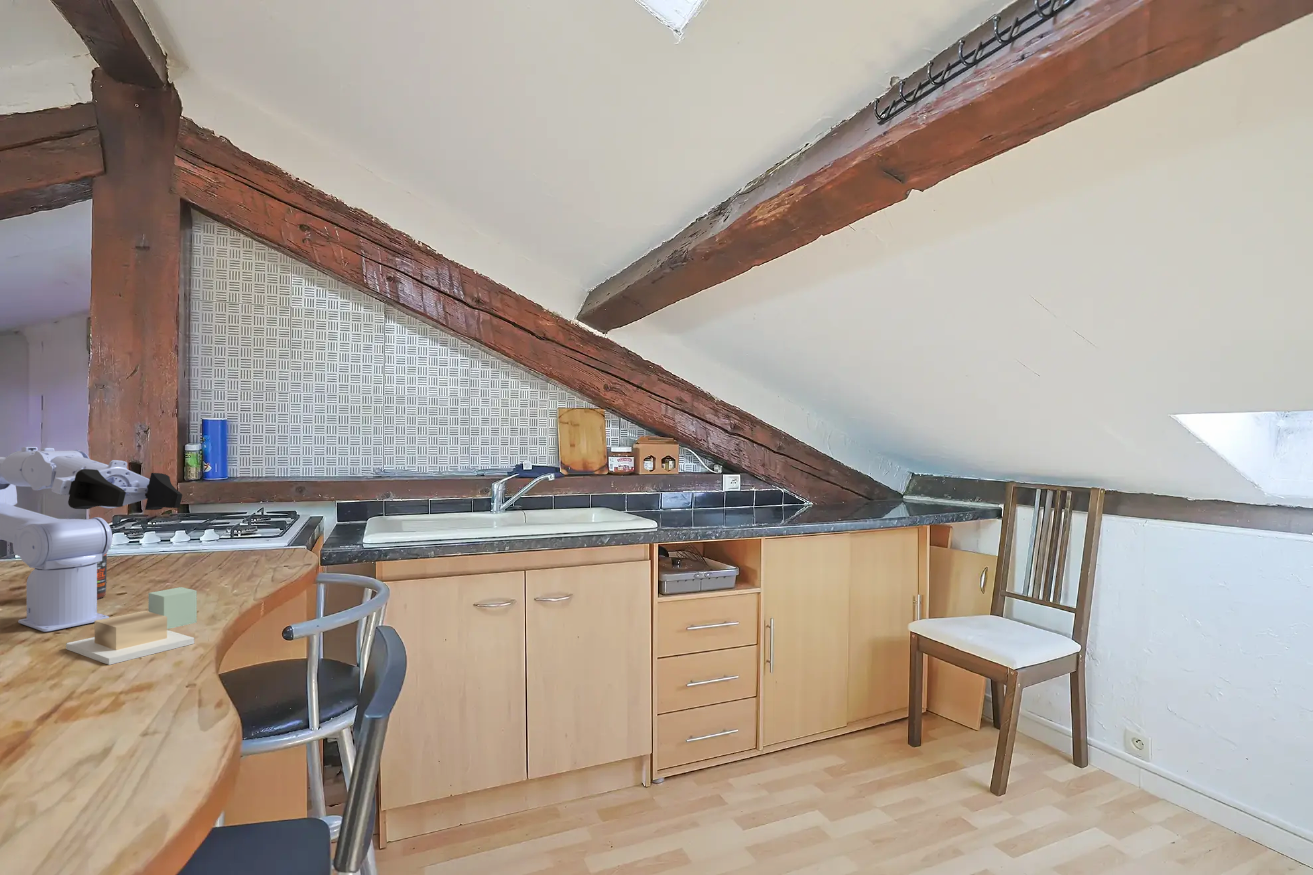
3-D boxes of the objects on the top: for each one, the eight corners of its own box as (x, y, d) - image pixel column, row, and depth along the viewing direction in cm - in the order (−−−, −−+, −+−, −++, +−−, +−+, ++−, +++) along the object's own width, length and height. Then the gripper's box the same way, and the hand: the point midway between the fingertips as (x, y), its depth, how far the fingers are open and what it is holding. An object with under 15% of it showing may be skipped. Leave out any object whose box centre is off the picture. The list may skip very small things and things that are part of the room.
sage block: (148, 625, 103) (148, 592, 103) (181, 618, 107) (180, 587, 107) (164, 630, 101) (164, 596, 101) (196, 622, 105) (196, 590, 105)
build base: (66, 649, 92) (66, 621, 92) (150, 630, 101) (150, 604, 101) (109, 665, 86) (109, 635, 86) (194, 643, 95) (194, 616, 95)
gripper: (41, 450, 95) (100, 468, 90) (150, 458, 108) (207, 475, 103) (29, 499, 94) (87, 521, 89) (140, 502, 108) (196, 521, 103)
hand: (151, 500), depth 96 cm, fingers open, 7 cm apart
